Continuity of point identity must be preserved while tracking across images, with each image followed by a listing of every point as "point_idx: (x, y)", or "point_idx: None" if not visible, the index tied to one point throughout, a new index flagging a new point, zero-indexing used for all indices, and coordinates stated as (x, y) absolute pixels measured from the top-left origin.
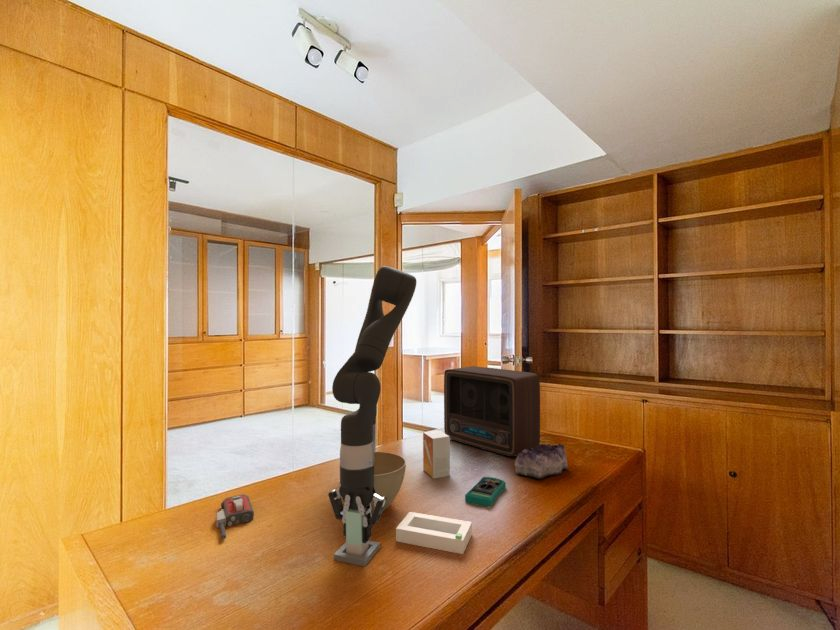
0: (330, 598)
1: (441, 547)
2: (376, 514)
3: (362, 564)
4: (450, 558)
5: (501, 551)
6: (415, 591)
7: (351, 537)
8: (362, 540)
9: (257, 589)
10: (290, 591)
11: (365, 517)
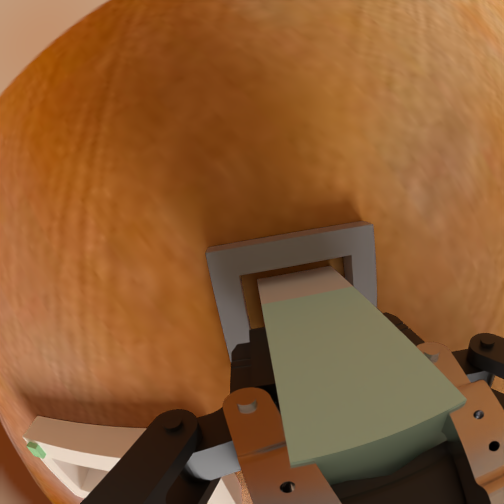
0: (204, 28)
1: (75, 427)
2: (118, 483)
3: (219, 247)
4: (39, 396)
5: (13, 432)
6: (2, 225)
7: (331, 308)
8: (265, 332)
9: (430, 9)
10: (355, 11)
11: (244, 448)
